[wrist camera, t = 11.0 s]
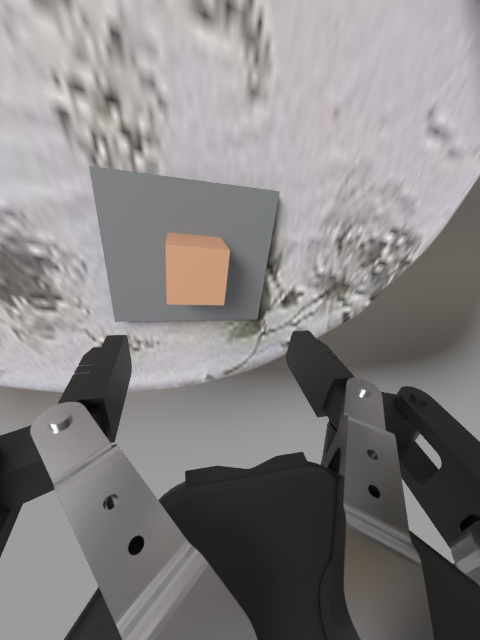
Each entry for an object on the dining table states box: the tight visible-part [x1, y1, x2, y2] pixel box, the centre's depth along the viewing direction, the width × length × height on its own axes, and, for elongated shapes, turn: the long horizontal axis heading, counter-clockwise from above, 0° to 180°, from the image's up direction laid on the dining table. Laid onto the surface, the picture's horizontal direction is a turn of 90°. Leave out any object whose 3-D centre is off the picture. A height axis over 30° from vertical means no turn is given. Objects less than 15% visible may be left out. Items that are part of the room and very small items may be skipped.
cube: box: [165, 232, 230, 305], centre depth 22 cm, size 5×5×5 cm
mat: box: [89, 166, 279, 322], centre depth 24 cm, size 16×14×2 cm
